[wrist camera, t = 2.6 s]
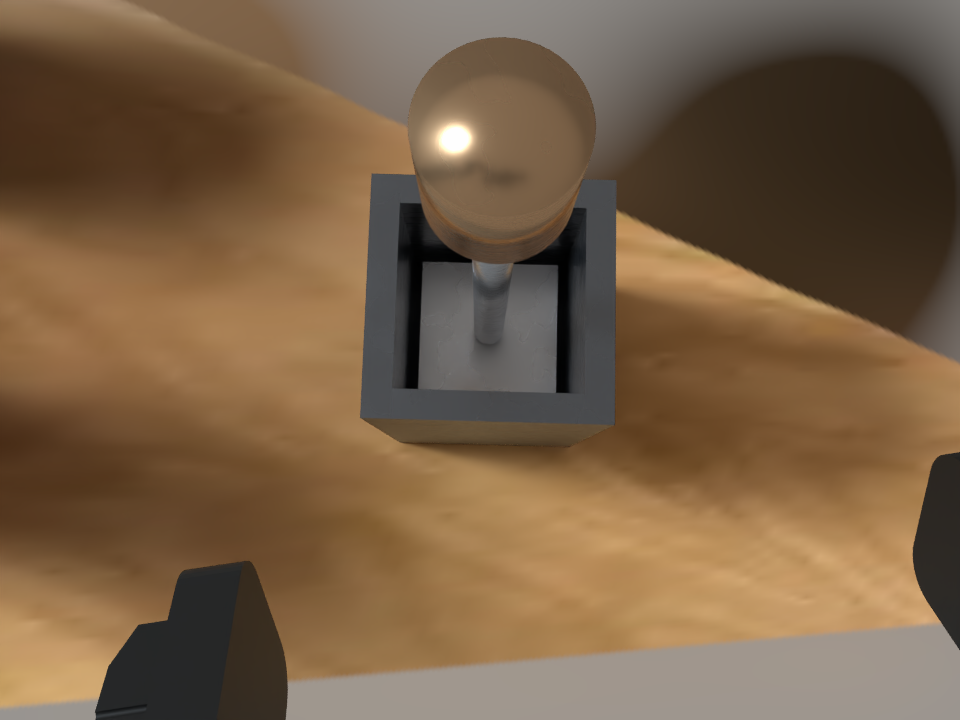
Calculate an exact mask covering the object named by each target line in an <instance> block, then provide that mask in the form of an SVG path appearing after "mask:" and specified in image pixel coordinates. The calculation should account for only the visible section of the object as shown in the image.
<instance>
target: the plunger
mask: <svg viewBox="0 0 960 720" xmlns="http://www.w3.org/2000/svg"><path fill="white" fill-rule="evenodd" d="M595 134H596V121H595V113H594V108H593V104H592V101H591V98H590V95H589V93H588V91H587V89H586V87H585V85H584V83H583V81H582V80H581V78H580V77H579V75H578V74H577V73H576V72H575V71H574V69H573V68H572V67H571V66H570V65H569V64H568V63H567V62H566V61H564V60H563V59H562V58H561V57H560V56H558V55H557V54H555V53H554V52H552V51H550V50H549V49H546V48H545V47H542V46H541V45H538V44H535V43H532V42H530V41H526V40H521V39H517V38H506V37H502V38H500V37H499V38H487V39H481V40H477V41H474V42H470V43H467V44H465V45H463V46H460V47H458V48H456V49H454V50H453V51H451V52H449V53H448V54H446V55H445V56H444V57H442V58H441V59H440V60H438V61H437V62H436V63H435V64H434V65H433V66H432V67H431V68H430V69H429V71H428V72H427V73H426V75H425V76H424V77H423V78H422V80H421V82H420V84H419V85H418V87H417V89H416V91H415V94H414V96H413V99H412V102H411V106H410V110H409V117H408V137H409V143H410V148H411V153H412V159H413V164H414V169H415V174H416V179H417V184H418V189H419V194H420V199H421V204H422V208H423V211H424V214H425V217H426V219H427V221H428V223H429V225H430V227H431V228H432V230H433V231H434V233H435V234H436V235H437V236H438V237H439V239H440V240H441V241H442V242H443V243H444V244H446V245H447V246H448V247H449V248H450V249H452V250H453V251H455V252H456V253H458V254H460V255H462V256H464V257H466V258H468V259H471V260H472V263H451V262H423V273H422V300H421V326H420V353H419V379H418V389H432V390H468V391H503V392H539V393H556V353H557V289H558V265H524V264H514V262H518V261H522V260H525V259H528V258H530V257H532V256H534V255H536V254H538V253H540V252H541V251H543V250H544V249H546V248H547V247H548V246H549V245H551V244H552V243H553V242H554V241H555V240H556V239H557V237H558V236H559V235H560V234H561V232H562V231H563V230H564V228H565V226H566V224H567V223H568V221H569V219H570V216H571V213H572V211H573V208H574V205H575V202H576V199H577V196H578V193H579V190H580V187H581V184H582V181H583V178H584V175H585V172H586V169H587V166H588V163H589V160H590V157H591V154H592V151H593V147H594V142H595Z"/></svg>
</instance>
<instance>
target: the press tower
mask: <svg viewBox="0 0 960 720" xmlns="http://www.w3.org/2000/svg"><path fill="white" fill-rule="evenodd" d="M423 262H451V263H472V260H471V259H468V258H466V257H464V256H462V255H460V254H458V253H456V252H455V251H453V250H452V249H450V248H449V247H448V246H447V245H446V244H444V243H443V242H442V241H441V240H440V239H439V237H438V236H437V235H436V234H435V233H434V231H433V230H432V228H431V227H430V225H429V223H428V221H427V219H426V217H425V214H424V211H423V208H422V204H421V199H420V194H419V189H418V184H417V179H416V175H401V174H372V178H371V199H370V220H369V242H368V263H367V284H366V305H365V326H364V348H363V369H362V390H361V411H360V418H361V419H363V420H364V421H366V422H368V423H369V424H371V425H373V426H374V427H376V428H377V429H379V430H381V431H382V432H384V433H386V434H387V435H389V436H390V437H392V438H394V439H395V440H397V441H399V442H408V443H443V444H479V445H515V446H551V447H570V446H572V445H574V444H576V443H578V442H580V441H582V440H585V439H587V438H589V437H591V436H593V435H595V434H597V433H599V432H601V431H603V430H605V429H608V428H610V427H612V426H614V425H615V308H616V181H615V180H584V179H583V181H582V184H581V187H580V190H579V193H578V196H577V199H576V202H575V205H574V208H573V211H572V213H571V216H570V219H569V221H568V223H567V224H566V226H565V228H564V230H563V231H562V232H561V234H560V235H559V236H558V237H557V239H556V240H555V241H554V242H553V243H552V244H551V245H549V246H548V247H547V248H546V249H544V250H543V251H541V252H540V253H538V254H536V255H534V256H532V257H530V258H528V259H525V260H522V261H518V262H514V264H524V265H558V289H557V353H556V393H539V392H503V391H468V390H432V389H418V379H419V353H420V326H421V300H422V273H423Z"/></svg>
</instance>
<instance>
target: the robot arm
mask: <svg viewBox="0 0 960 720" xmlns="http://www.w3.org/2000/svg"><path fill="white" fill-rule="evenodd" d="M913 564H914V570H915V574H916V578H917V581H918V584H919V586H920V589H921V591H922V593H923V595H924V597H925V599H926V600H927V602H928V603H929V605H930V606H931V608H932V609H933V611H934V612H935V614H936V615H937V617H938V618H939V620H940V621H941V623H942V624H943V626H944V627H945V629H946V630H947V632H948V633H949V635H950V636H951V638H952V639H953V641H954V642H955V644H956V645H957V647H958V648H959V650H960V452H958V453H952V454H945V455H941V456H939V457H937V458H936V460H935V461H934V463H933V465H932V468H931V471H930V475H929V480H928V484H927V488H926V493H925V497H924V501H923V506H922V510H921V515H920V519H919V523H918V528H917V532H916V536H915V541H914V546H913ZM287 688H288V687H287V670H286V662H285V656H284V651H283V647H282V644H281V641H280V638H279V635H278V632H277V629H276V626H275V623H274V621H273V618H272V615H271V612H270V609H269V606H268V603H267V601H266V598H265V595H264V592H263V589H262V586H261V583H260V581H259V578H258V575H257V572H256V570H255V567H254V566H253V564H252V563H251V562H250V561H243V562H236V563H230V564H223V565H216V566H209V567H203V568H196V569H189V570H184V571H183V572H182V573H181V574H180V576H179V578H178V580H177V584H176V588H175V592H174V596H173V600H172V604H171V608H170V612H169V616H168V620H167V621H160V622H154V623H147V624H141V625H138V626H137V628H136V629H135V631H134V632H133V633H132V635H131V636H130V637H129V639H128V640H127V642H126V643H125V644H124V646H123V647H122V648H121V650H120V651H119V653H118V654H117V655H116V657H115V658H114V660H113V661H112V662H111V664H110V665H109V666H108V670H107V673H106V677H105V680H104V683H103V687H102V690H101V693H100V697H99V700H98V704H97V707H96V710H95V713H96V720H285V719H286V709H287V693H288V692H287V691H288V689H287Z"/></svg>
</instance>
